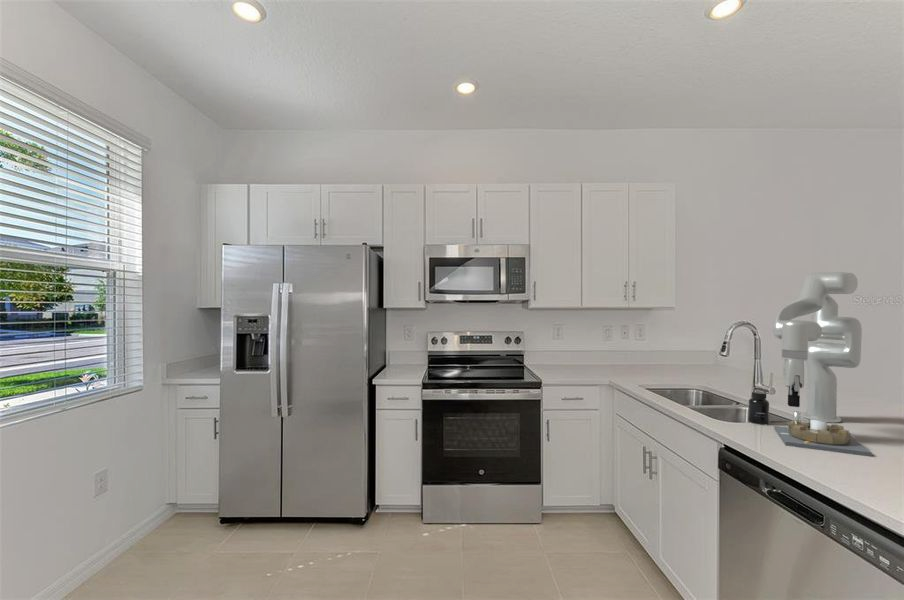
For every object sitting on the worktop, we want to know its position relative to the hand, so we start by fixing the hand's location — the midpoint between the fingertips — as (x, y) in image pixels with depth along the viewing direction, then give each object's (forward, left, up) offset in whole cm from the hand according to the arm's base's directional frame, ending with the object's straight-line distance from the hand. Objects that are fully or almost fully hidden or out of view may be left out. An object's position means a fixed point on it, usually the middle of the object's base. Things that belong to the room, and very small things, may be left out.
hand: (793, 406), depth 163 cm
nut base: (+4, +6, -11) cm, 13 cm away
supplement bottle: (-15, -9, -11) cm, 20 cm away
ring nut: (+4, +6, -9) cm, 12 cm away
